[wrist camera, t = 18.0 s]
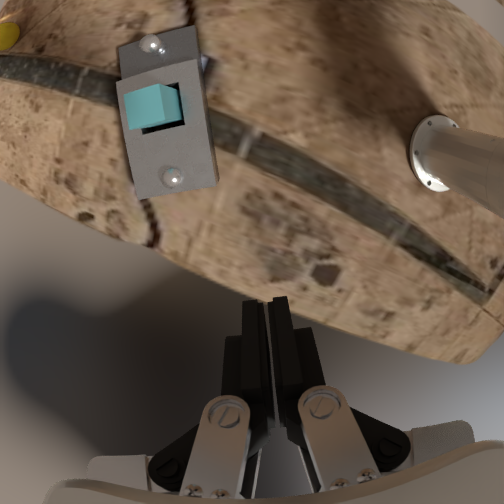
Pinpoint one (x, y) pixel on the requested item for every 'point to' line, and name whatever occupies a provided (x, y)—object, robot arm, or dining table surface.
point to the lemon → (8, 35)
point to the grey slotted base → (177, 138)
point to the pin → (153, 106)
